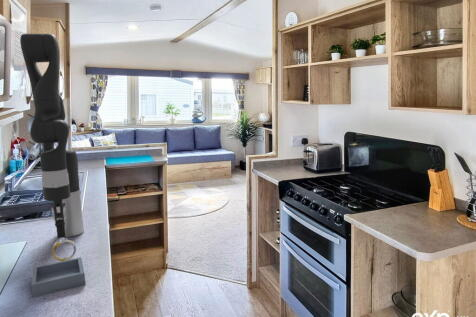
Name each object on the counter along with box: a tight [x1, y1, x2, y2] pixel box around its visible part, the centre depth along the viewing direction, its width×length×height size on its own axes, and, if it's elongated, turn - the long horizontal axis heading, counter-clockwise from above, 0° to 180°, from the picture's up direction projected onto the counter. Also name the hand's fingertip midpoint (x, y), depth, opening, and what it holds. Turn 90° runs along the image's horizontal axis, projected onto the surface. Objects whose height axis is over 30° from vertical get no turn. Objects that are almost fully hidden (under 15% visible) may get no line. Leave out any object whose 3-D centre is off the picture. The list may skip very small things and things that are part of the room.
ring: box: [51, 237, 77, 262], centre depth 115 cm, size 7×3×8 cm, turn 110°
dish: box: [30, 256, 86, 298], centre depth 102 cm, size 12×13×4 cm
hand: (61, 233), depth 114 cm, fingers open, 8 cm apart
